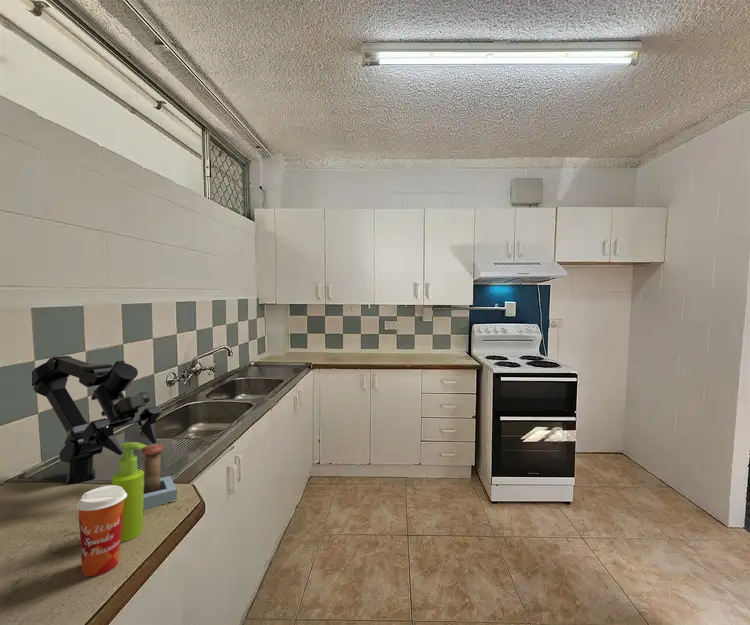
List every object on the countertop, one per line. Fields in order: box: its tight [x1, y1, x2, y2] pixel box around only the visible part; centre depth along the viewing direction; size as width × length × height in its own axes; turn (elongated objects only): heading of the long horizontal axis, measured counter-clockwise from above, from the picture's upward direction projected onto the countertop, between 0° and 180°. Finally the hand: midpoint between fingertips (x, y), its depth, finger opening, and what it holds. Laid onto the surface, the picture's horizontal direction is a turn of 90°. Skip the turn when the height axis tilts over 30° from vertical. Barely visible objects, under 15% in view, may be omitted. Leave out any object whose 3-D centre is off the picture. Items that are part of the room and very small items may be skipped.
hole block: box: [143, 475, 178, 511], centre depth 97 cm, size 10×10×3 cm
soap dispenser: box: [111, 441, 148, 543], centre depth 81 cm, size 6×7×20 cm
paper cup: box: [76, 484, 127, 577], centre depth 71 cm, size 8×8×14 cm
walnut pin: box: [141, 443, 164, 494], centre depth 97 cm, size 5×5×14 cm
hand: (138, 448), depth 99 cm, fingers open, 9 cm apart
